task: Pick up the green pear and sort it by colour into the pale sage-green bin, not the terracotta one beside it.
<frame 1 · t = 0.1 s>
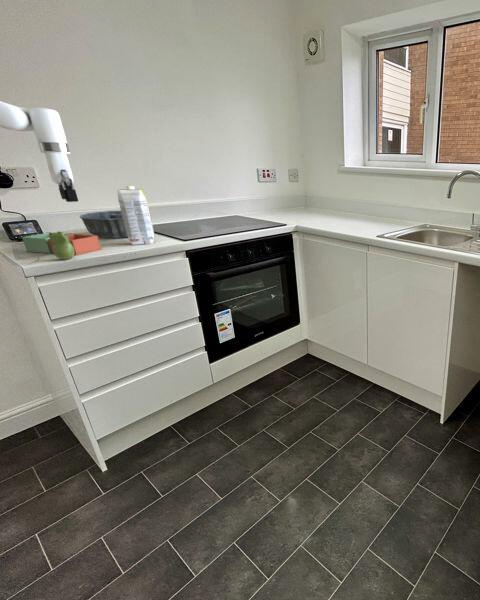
hand: (70, 200, 126), 20 cm above the countertop, tool pointing down, fingers open, 9 cm apart
terracotta bin: (77, 251, 138), on the countertop
pear: (66, 259, 127), on the countertop
green bin: (52, 249, 140), on the countertop
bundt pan: (121, 235, 168), on the countertop
juice carton: (143, 243, 155), on the countertop
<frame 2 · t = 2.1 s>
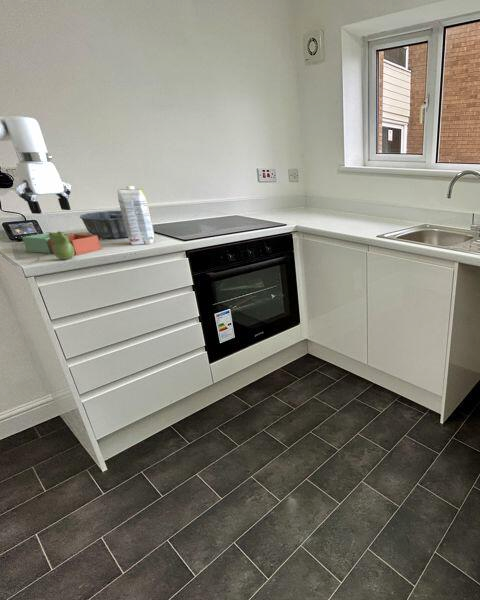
hand: (52, 211, 121), 17 cm above the countertop, tool pointing down, fingers open, 9 cm apart
nothing on the countertop moved.
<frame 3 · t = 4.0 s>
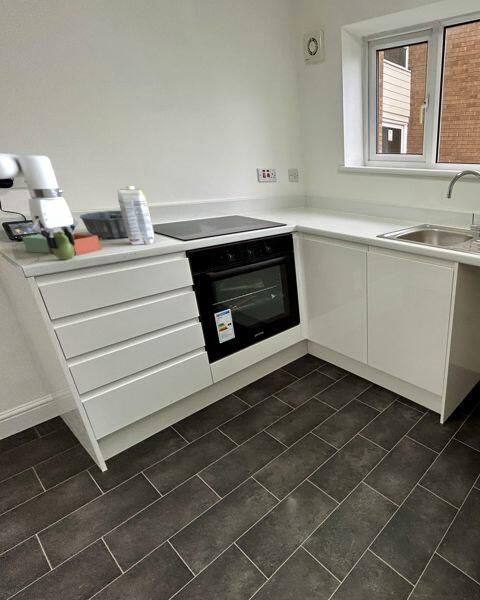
hand: (62, 246, 126), 5 cm above the countertop, tool pointing down, fingers closed on pear, 4 cm apart
pear: (66, 259, 127), on the countertop, touching gripper
everything else where it was.
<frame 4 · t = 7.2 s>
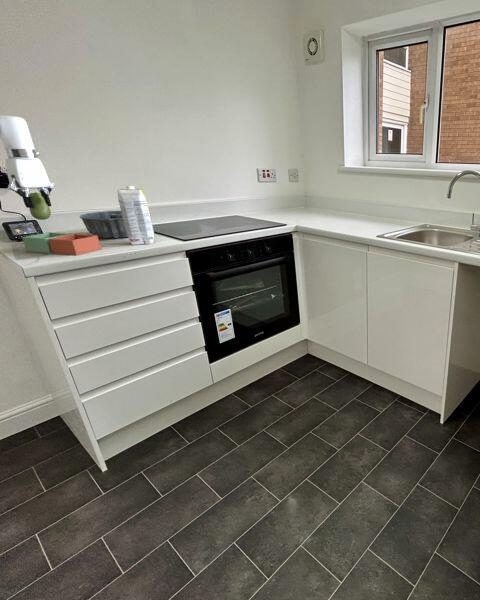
hand: (39, 206, 131), 17 cm above the countertop, tool pointing down, fingers closed on pear, 4 cm apart
pear: (42, 220, 133), point 12 cm above the countertop, touching gripper
everything else where it was.
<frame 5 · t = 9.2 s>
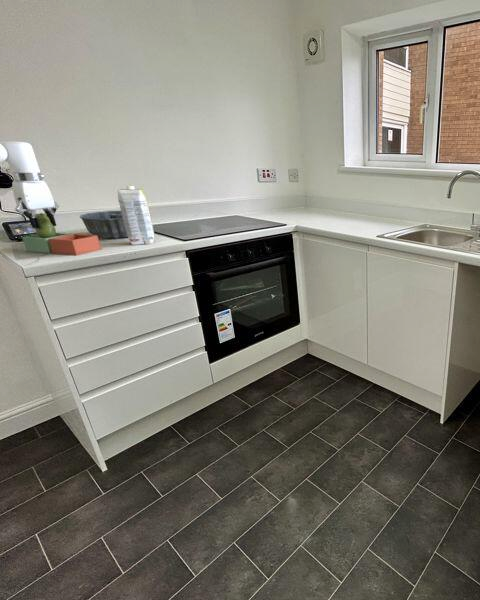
hand: (44, 226, 136), 9 cm above the countertop, tool pointing down, fingers closed on pear, 4 cm apart
pear: (48, 239, 138), point 4 cm above the countertop, touching gripper
everything else where it was.
when the fingers open (6 cm above the countertop, at t = 10.6 s): pear stays where it is, resting on green bin.
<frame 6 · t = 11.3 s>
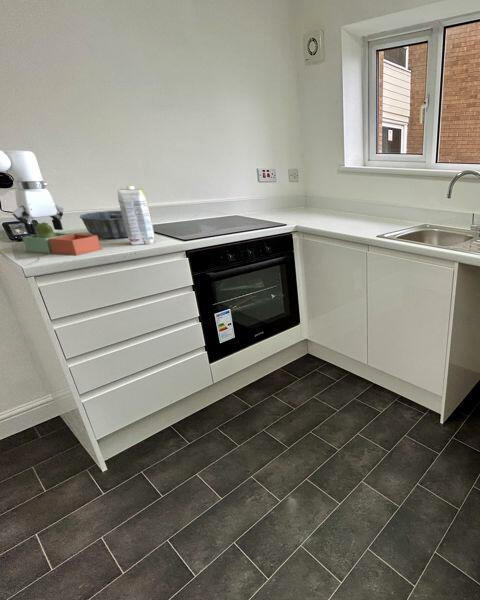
hand: (46, 231, 137), 7 cm above the countertop, tool pointing down, fingers open, 9 cm apart
pear: (51, 248, 139), resting on green bin
everything else where it was.
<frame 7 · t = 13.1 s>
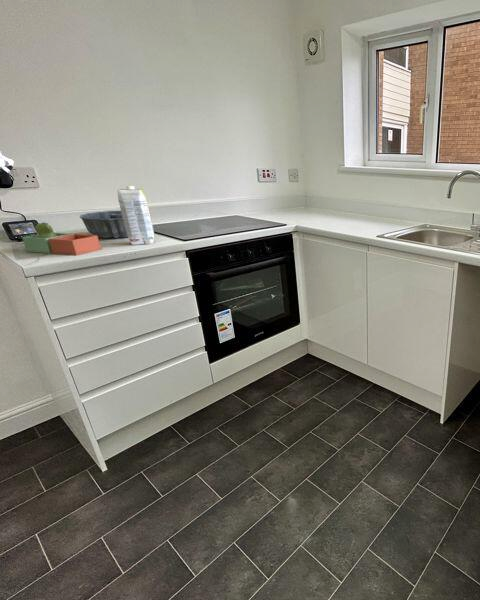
nothing on the countertop moved.
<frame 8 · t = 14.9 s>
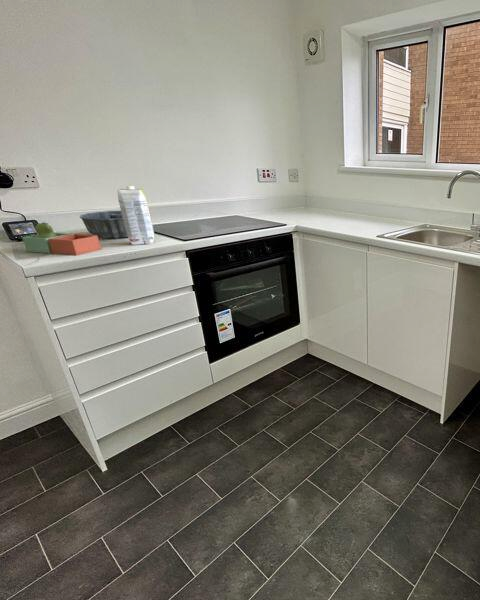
nothing on the countertop moved.
at the end: pear inside the target area in the green bin (0.2 cm from its centre), point 0.4 cm above the green bin's base; the gripper is holding nothing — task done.
